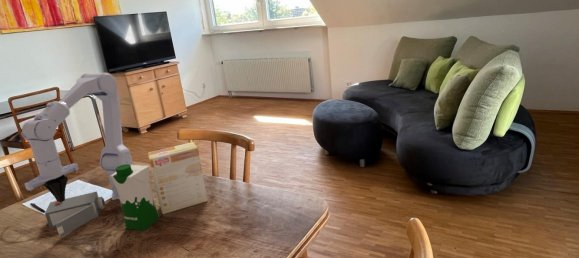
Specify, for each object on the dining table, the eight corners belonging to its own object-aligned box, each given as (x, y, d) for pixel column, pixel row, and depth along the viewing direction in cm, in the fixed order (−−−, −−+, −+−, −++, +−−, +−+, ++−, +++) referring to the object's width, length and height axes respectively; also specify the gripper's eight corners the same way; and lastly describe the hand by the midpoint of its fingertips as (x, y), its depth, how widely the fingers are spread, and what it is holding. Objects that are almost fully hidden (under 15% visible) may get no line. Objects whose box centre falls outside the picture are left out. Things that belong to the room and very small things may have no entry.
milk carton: (121, 230, 111) (104, 169, 104) (141, 214, 119) (127, 157, 112) (145, 233, 108) (129, 171, 101) (164, 216, 116) (150, 158, 109)
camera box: (106, 204, 128) (102, 187, 126) (105, 214, 120) (100, 197, 118) (55, 216, 122) (49, 200, 120) (50, 229, 115) (44, 211, 113)
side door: (97, 215, 120) (93, 202, 118) (99, 216, 119) (95, 202, 117) (58, 237, 109) (53, 223, 107) (61, 238, 108) (56, 224, 107)
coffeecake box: (203, 193, 129) (193, 141, 123) (208, 201, 123) (198, 147, 117) (159, 205, 123) (147, 151, 117) (162, 215, 117) (149, 158, 111)
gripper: (63, 149, 114) (75, 188, 119) (13, 168, 102) (28, 210, 107) (77, 151, 111) (89, 191, 115) (27, 171, 99) (42, 214, 103)
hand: (61, 200), depth 111 cm, fingers closed
